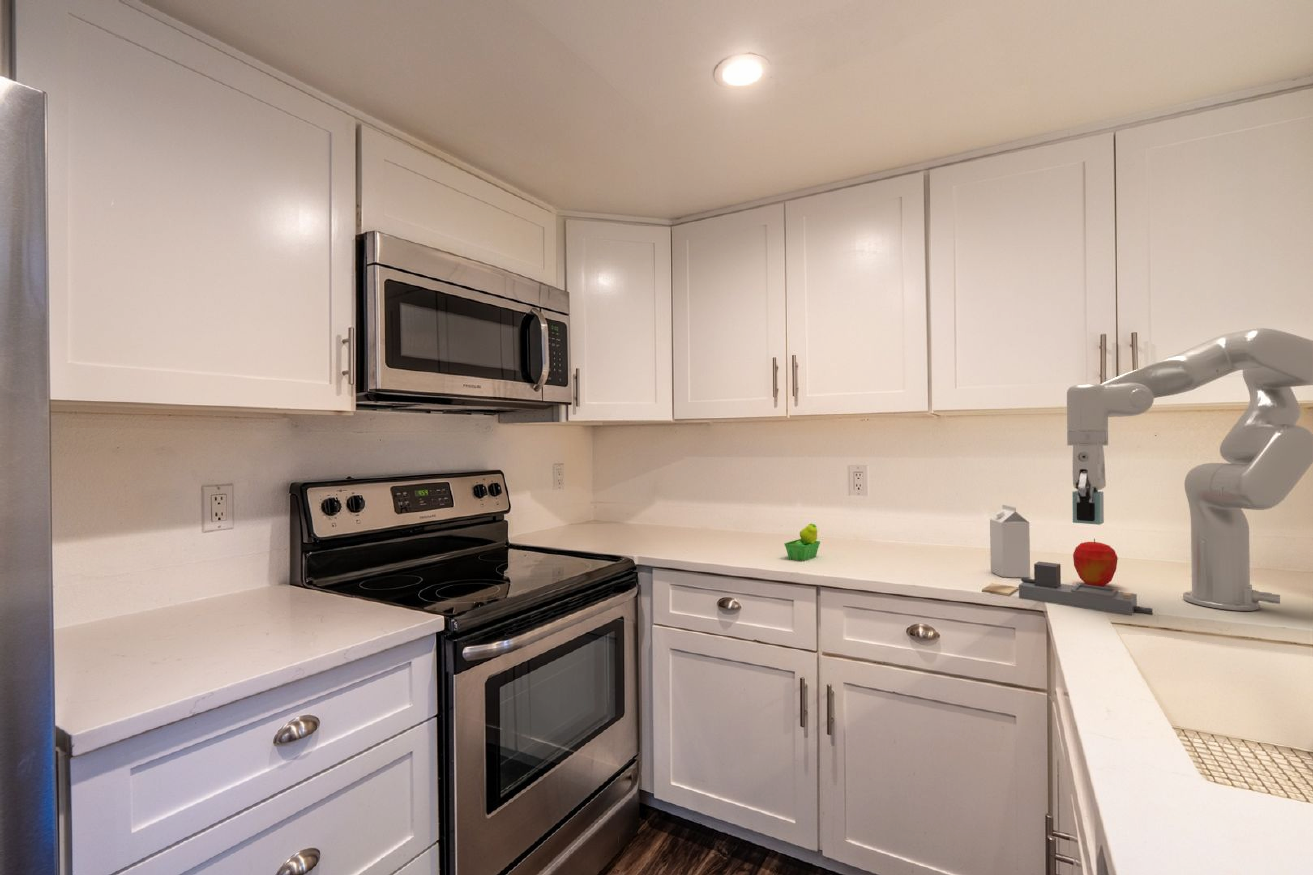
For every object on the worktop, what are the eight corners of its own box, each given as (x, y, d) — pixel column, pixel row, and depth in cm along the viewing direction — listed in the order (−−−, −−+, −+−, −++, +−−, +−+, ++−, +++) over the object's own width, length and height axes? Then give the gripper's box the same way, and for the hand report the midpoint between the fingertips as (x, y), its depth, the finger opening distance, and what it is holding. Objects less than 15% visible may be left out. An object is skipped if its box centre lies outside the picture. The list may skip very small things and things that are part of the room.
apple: (1124, 591, 144) (1123, 542, 144) (1080, 588, 147) (1079, 540, 147) (1109, 582, 153) (1109, 536, 153) (1068, 580, 156) (1068, 534, 156)
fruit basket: (800, 553, 196) (799, 519, 196) (825, 557, 191) (824, 522, 191) (783, 559, 188) (782, 523, 188) (809, 563, 182) (808, 526, 182)
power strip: (1154, 610, 129) (1153, 573, 129) (1150, 618, 123) (1149, 580, 123) (1025, 590, 146) (1025, 558, 146) (1016, 597, 141) (1016, 563, 141)
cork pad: (1018, 589, 147) (1018, 587, 147) (1009, 596, 142) (1009, 593, 142) (992, 585, 152) (992, 583, 152) (982, 591, 146) (982, 589, 146)
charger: (1103, 522, 134) (1103, 491, 134) (1099, 524, 130) (1099, 493, 130) (1077, 520, 137) (1076, 490, 137) (1072, 522, 134) (1072, 491, 134)
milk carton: (1016, 572, 166) (1016, 504, 166) (1030, 578, 159) (1029, 507, 159) (990, 571, 167) (989, 504, 167) (1002, 577, 160) (1001, 507, 160)
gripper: (1101, 439, 125) (1102, 525, 125) (1113, 438, 137) (1114, 516, 137) (1059, 439, 130) (1060, 521, 130) (1074, 439, 143) (1075, 514, 143)
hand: (1088, 518), depth 134 cm, fingers closed on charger, 5 cm apart
